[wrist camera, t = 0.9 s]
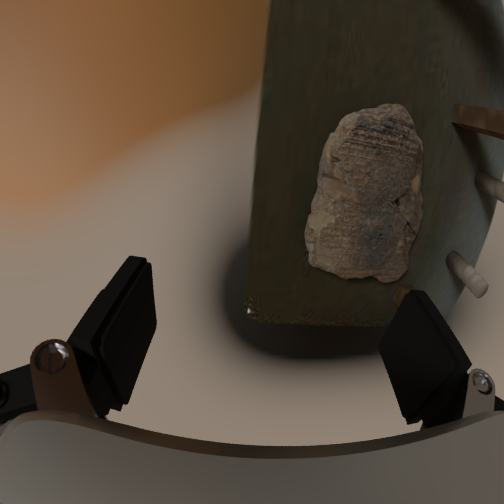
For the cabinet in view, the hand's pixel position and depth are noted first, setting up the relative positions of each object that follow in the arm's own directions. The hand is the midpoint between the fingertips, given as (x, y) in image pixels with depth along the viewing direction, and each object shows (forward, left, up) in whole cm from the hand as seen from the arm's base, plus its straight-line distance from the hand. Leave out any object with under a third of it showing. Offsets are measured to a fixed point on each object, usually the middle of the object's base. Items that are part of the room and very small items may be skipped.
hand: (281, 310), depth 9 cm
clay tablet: (-1, +12, -21) cm, 24 cm away
